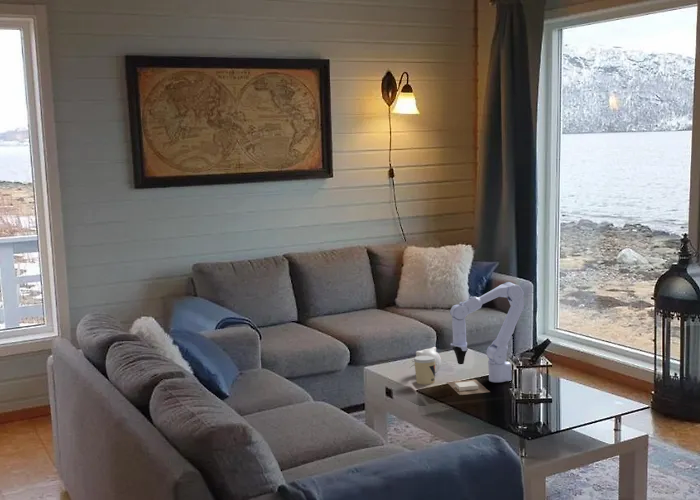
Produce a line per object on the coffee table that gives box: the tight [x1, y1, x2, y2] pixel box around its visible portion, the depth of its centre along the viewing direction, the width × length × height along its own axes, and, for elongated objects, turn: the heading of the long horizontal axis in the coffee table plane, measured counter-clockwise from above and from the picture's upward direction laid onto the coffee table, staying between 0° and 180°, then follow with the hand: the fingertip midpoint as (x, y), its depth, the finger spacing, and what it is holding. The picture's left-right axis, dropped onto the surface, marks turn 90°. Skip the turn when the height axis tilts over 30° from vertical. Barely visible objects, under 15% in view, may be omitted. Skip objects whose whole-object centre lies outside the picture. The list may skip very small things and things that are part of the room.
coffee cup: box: [413, 355, 436, 386], centre depth 346 cm, size 9×9×12 cm
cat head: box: [409, 346, 442, 375], centre depth 360 cm, size 15×13×12 cm
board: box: [446, 379, 491, 396], centre depth 335 cm, size 13×20×1 cm, turn 8°
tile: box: [455, 381, 478, 391], centre depth 333 cm, size 8×2×7 cm
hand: (460, 363), depth 339 cm, fingers closed
